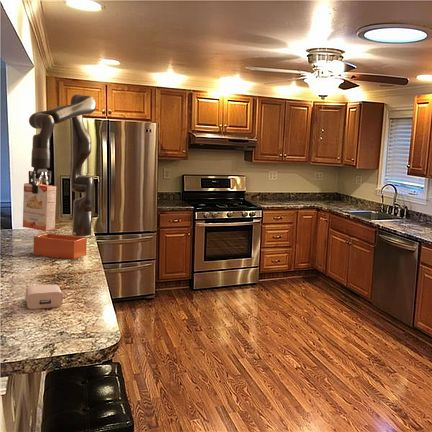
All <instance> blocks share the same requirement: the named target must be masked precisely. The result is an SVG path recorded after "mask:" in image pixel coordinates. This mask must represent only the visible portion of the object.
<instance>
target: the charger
mask: <svg viewBox="0 0 432 432" xmlns="http://www.w3.org/2000/svg"><path fill="white" fill-rule="evenodd" d="M25 302H26V305H27V308H28V309H30V310H38V309H51V308H59V307H61V306H62V305H63V292H62V290H61V288H60V286H59V284H54V283H53V284H52V283H51V284H34V285H28V286H27V287H25Z"/></svg>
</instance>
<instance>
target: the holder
mask: <svg viewBox="0 0 432 432" xmlns="http://www.w3.org/2000/svg"><path fill="white" fill-rule="evenodd" d="M87 243H88V238H87V237H78V236H72V235H70V234H69V235H67V234H60V233H58V234H57V233H43V234H39V235H35V236H33V243H32V244H33V249H32V255H33V256H41V257H43V256H44V257H51V258H61V259H70V260H75V259H78V258H81V257H84V256H85V255H87V245H88V244H87Z"/></svg>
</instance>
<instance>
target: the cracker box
mask: <svg viewBox="0 0 432 432" xmlns="http://www.w3.org/2000/svg"><path fill="white" fill-rule="evenodd" d="M37 186H38V193H37V194H33V193H32V185H31V184H29V182H25V183H24V182H23V197H22V198H23V201H22V206H23V207H22V228H27V229H32V230H37V231H43V232H47V231H54V230H56V211H57V209H56V208H57V186H56V185H49V184H48V185H43V184H42V183H38V185H37Z"/></svg>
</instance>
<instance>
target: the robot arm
mask: <svg viewBox="0 0 432 432" xmlns="http://www.w3.org/2000/svg"><path fill="white" fill-rule="evenodd" d="M96 109H97V101H96V99H95V98H94V97H93V96H91V95H87V94H73V95H72V96H71V98H70V104H64V105H58V106H56V107H53V108H50V109H47V110H42V111H37V112H34V113H33V114H31V115H30V117H29V118H28V123H29V125H30V127H31V128H33V129H36V130H40V131H39V133H36V134H34V135H33V136H32V147H31V158H30V159H31V160H30V161H31V162H30V163H31V164H30V167H31V168H33V170H29V171H28V183H29V184H31V185H32V193H33V194H37V193H38V186H37V185H38V184H40V182H41V184H43V185H49V184H51V183H52V171H51V170H48V169H50V168H51V150H50V149H51V137H52V135H53V132H54V128H55V125H58V124H61V123H62V122H64V121H67V120H70V119H71V133H72V134H71V156H72V157H71V159H72V162H71V163H72V165H71V175H70V176H71V177H70V178H71V179H70V189H71V192H73V193H79V194H80V193H81V194H84V196H81V197H79V198H75V199H74V200H73V206H72V210H73V211H72V229H71V230H72V231H71V236H78V237H87V239H89V238H91V237H92V225H93V223H92V221H93V220H92V218H93V217H92V216H93V215H92V214H93V200H94V199H93V198H94V189H95V179H94V177H93V176H91V175H81V173H80V172H81V168H82V167H83V165H84V163H85V161H87V159H88V158H89V156H90V155H91V152H92V138H91V136H90V133H89V131H88V130H87V128H86V126H85V123H84V118H83V117H84V116H83V115H90V114H92V113H94V112H95V111H96Z"/></svg>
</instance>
